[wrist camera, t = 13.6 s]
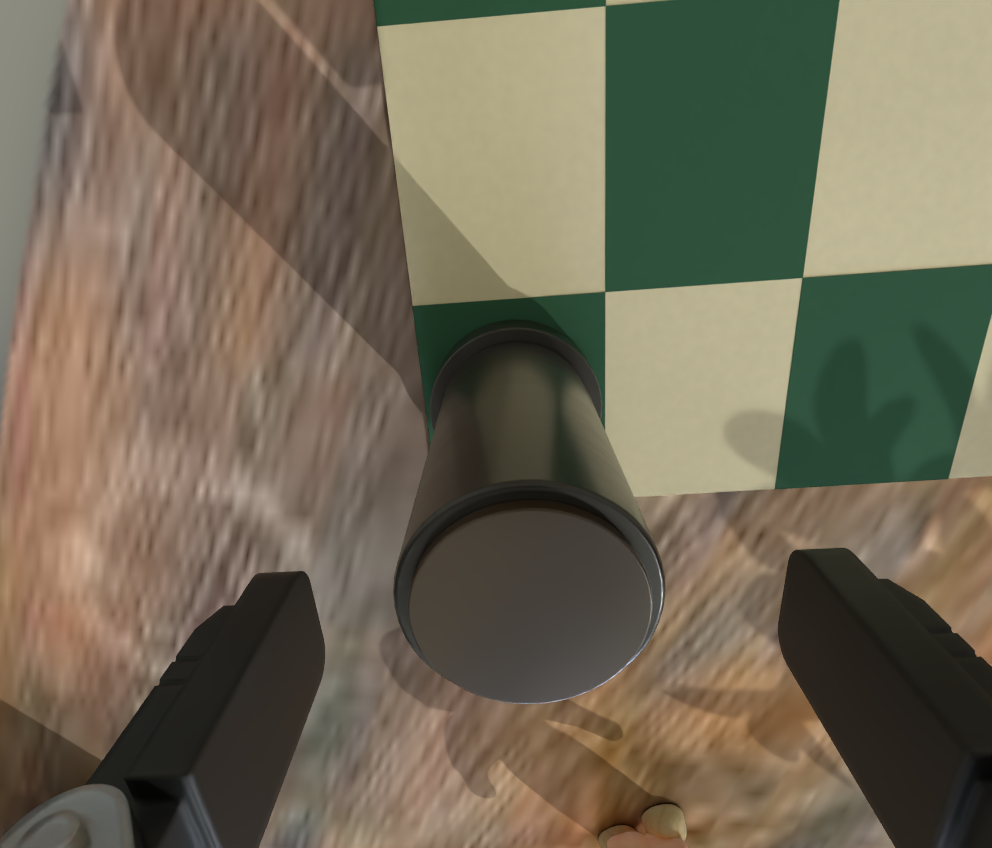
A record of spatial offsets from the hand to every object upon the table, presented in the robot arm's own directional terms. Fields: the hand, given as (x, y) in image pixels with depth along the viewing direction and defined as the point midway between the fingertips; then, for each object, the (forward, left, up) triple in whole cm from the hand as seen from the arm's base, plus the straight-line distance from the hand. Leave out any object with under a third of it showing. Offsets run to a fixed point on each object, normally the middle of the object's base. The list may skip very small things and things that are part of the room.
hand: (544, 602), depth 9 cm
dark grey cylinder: (0, 0, -10) cm, 10 cm away
